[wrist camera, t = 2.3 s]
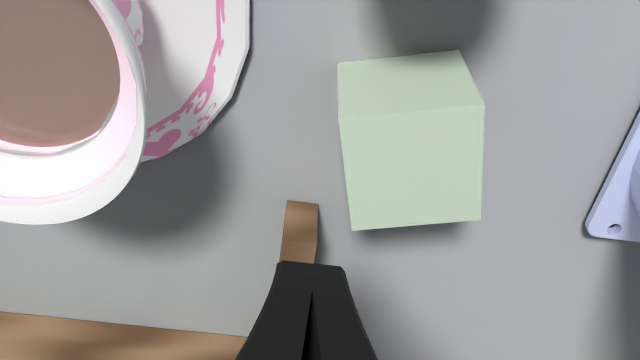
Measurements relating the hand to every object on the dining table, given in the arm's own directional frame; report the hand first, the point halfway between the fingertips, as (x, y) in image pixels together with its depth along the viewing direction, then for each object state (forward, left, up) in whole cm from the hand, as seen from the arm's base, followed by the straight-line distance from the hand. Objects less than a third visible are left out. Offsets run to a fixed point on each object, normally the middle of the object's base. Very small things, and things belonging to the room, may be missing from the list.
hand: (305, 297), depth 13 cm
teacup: (+8, -2, -10) cm, 13 cm away
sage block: (-3, 0, -10) cm, 10 cm away
